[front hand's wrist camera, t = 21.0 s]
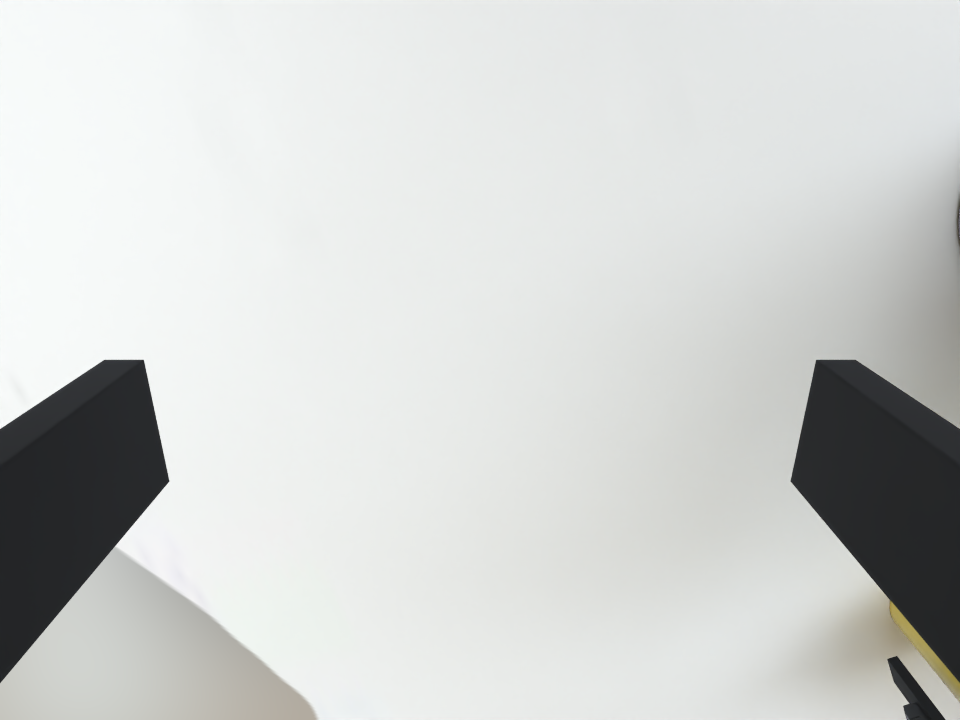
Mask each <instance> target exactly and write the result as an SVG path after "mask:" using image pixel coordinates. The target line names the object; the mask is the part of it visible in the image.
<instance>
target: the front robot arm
mask: <svg viewBox="0 0 960 720" xmlns="http://www.w3.org/2000/svg"><path fill="white" fill-rule="evenodd" d="M958 225H959V238H960V209H959V221H958ZM168 482H169V478H168V473H167V468H166V463H165V459H164V454H163V449H162V444H161V440H160V435H159V430H158V425H157V421H156V416H155V411H154V406H153V402H152V397H151V392H150V387H149V383H148V378H147V373H146V368H145V364H144V360H104V361H102V362H101V363H99V364H98V365H96V366H95V367H93V368H92V369H90V370H89V371H87V372H86V373H84V374H83V375H81V376H80V377H78V378H77V379H75V380H73V381H72V382H70V383H69V384H67V385H66V386H64V387H63V388H61V389H60V390H58V391H57V392H55V393H54V394H52V395H51V396H49V397H48V398H46V399H45V400H43V401H42V402H40V403H39V404H37V405H36V406H34V407H33V408H31V409H30V410H28V411H27V412H25V413H24V414H22V415H21V416H19V417H18V418H16V419H15V420H13V421H12V422H10V423H9V424H7V425H6V426H4V427H3V428H1V429H0V683H1V681H2V680H3V679H4V678H5V677H6V675H7V674H8V673H9V672H10V671H11V670H12V668H13V667H14V666H15V665H16V664H17V662H18V661H19V660H20V659H21V658H22V656H23V655H24V654H25V653H26V652H27V650H28V649H29V648H30V647H31V646H32V644H33V643H34V642H35V641H36V640H37V638H38V637H39V636H40V635H41V634H42V633H43V631H44V630H45V629H46V628H47V627H48V625H49V624H50V623H51V622H52V621H53V619H54V618H55V617H56V616H57V615H58V613H59V612H60V611H61V610H62V609H63V607H64V606H65V605H66V604H67V603H68V602H69V600H70V599H71V598H72V597H73V596H74V594H75V593H76V592H77V591H78V590H79V588H80V587H81V586H82V585H83V584H84V582H85V581H86V580H87V579H88V578H89V577H90V575H91V574H92V573H93V572H94V571H95V569H96V568H97V567H98V566H99V565H100V563H101V562H102V561H103V560H104V559H105V557H106V556H107V555H108V554H109V553H110V551H111V550H112V549H113V548H114V547H115V546H116V544H117V543H118V542H119V541H120V540H121V538H122V537H123V536H124V535H125V534H126V532H127V531H128V530H129V529H130V528H131V526H132V525H133V524H134V523H135V522H136V520H137V519H138V518H139V517H140V516H141V514H142V513H143V512H144V511H145V510H146V509H147V507H148V506H149V505H150V504H151V503H152V501H153V500H154V499H155V498H156V497H157V495H158V494H159V493H160V492H161V491H162V489H163V488H164V487H165V486H166V485H167V483H168ZM791 482H792V483H793V485H794V486H795V487H796V488H797V489H798V491H799V492H800V493H801V494H802V495H803V497H804V498H805V499H806V500H807V501H808V503H809V504H810V505H811V506H812V507H813V509H814V510H815V511H816V512H817V513H818V514H819V516H820V517H821V518H822V519H823V520H824V522H825V523H826V524H827V525H828V526H829V528H830V529H831V530H832V531H833V532H834V534H835V535H836V536H837V537H838V538H839V540H840V541H841V542H842V543H843V544H844V546H845V547H846V548H847V549H848V550H849V551H850V553H851V554H852V555H853V556H854V557H855V559H856V560H857V561H858V562H859V563H860V565H861V566H862V567H863V568H864V569H865V571H866V572H867V573H868V574H869V575H870V577H871V578H872V579H873V580H874V581H875V582H876V584H877V585H878V586H879V587H880V588H881V590H882V591H883V592H884V593H885V594H886V596H887V597H888V598H889V599H890V600H891V602H892V603H893V604H894V605H895V606H896V608H897V609H898V610H899V611H900V612H901V614H902V615H903V616H904V617H905V618H906V619H907V621H908V622H909V623H910V624H911V625H912V627H913V628H914V629H915V630H916V631H917V633H918V634H919V635H920V636H921V637H922V639H923V640H924V641H925V642H926V643H927V645H928V646H929V647H930V648H931V649H932V650H933V652H934V653H935V654H936V655H937V656H938V658H939V659H940V660H941V661H942V662H943V664H944V665H945V666H946V667H947V668H948V670H949V671H950V672H951V673H952V674H953V676H954V677H955V678H956V679H957V680H958V681H959V683H960V429H959V428H957V427H956V426H954V425H953V424H951V423H950V422H948V421H947V420H945V419H944V418H942V417H941V416H939V415H938V414H936V413H935V412H933V411H932V410H930V409H929V408H927V407H926V406H924V405H923V404H921V403H920V402H918V401H917V400H915V399H914V398H912V397H911V396H909V395H908V394H906V393H905V392H903V391H902V390H900V389H899V388H897V387H896V386H894V385H893V384H891V383H890V382H888V381H887V380H885V379H883V378H882V377H880V376H879V375H877V374H876V373H874V372H873V371H871V370H870V369H868V368H867V367H865V366H864V365H862V364H861V363H859V362H858V361H856V360H816V364H815V368H814V373H813V378H812V383H811V387H810V392H809V397H808V402H807V406H806V411H805V416H804V421H803V425H802V430H801V435H800V440H799V444H798V449H797V454H796V459H795V463H794V468H793V473H792V478H791Z"/></svg>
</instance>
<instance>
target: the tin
mask: <svg viewBox="0 0 960 720" xmlns="http://www.w3.org/2000/svg"><path fill="white" fill-rule="evenodd" d="M890 613H891V616H892V619H893V620H894V622H895V623H896V624H897V626H898V627H899V628H900V629H901V631H902V632H903V633H904V634H905V636H906V637H907V638H908V639H909V641H910V642H911V643H912V644H913V645H914V647H915V648H916V649H917V650H918V652H919V653H920V654H921V655H922V657H923V658H924V659H925V660H926V661H927V663H928V664H929V665H930V666H931V668H932V669H933V670H934V671H935V673H936V674H937V675H938V676H939V678H940V679H941V680H942V681H943V682H944V684H945V685H946V686H947V687H948V689H949V690H950V691H951V692H952V694H953V695H954V696H955V697H956V698H957V700H958V701H959V702H960V683H959V681H958V680H957V679H956V678H955V677H954V676H953V674H952V673H951V672H950V671H949V670H948V668H947V667H946V666H945V665H944V664H943V662H942V661H941V660H940V659H939V658H938V656H937V655H936V654H935V653H934V652H933V650H932V649H931V648H930V647H929V646H928V645H927V643H926V642H925V641H924V640H923V639H922V637H921V636H920V635H919V634H918V633H917V631H916V630H915V629H914V628H913V627H912V625H911V624H910V623H909V622H908V621H907V619H906V618H905V617H904V616H903V615H902V614H901V612H900V611H899V610H898V609H897V608H896V606H895V605H894V604H893V603H892V602H891V601H890Z"/></svg>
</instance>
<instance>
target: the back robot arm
mask: <svg viewBox="0 0 960 720" xmlns="http://www.w3.org/2000/svg"><path fill="white" fill-rule="evenodd" d="M888 663H889V666H890V670H891V673H892V677H893V680H894V683H895V684H896V685H897V687H898V688H899V690H900V691H901V692H902V694H903V695H904V696H905V698H906V699H907V701H908V702H909V703H910V704H908V705H904V706H903V707H904V711H905V715H906V718H907V720H945V718H944V717H943V716H942V715H941V713H940V712H939V711H938V709H937V708H936V707H935V705H934V704H933V703H932V701H931V700H930V699H929V697H928V696H927V695H926V694H925V692H924V691H923V690H922V688H921V687H920V686H919V684H918V683H917V682H916V680H915V679H914V678H913V676H912V675H911V674H910V673H909V671H908V670H907V669H906V667H905V666H904V665H903V663H902V662H901V661H900V659H899V658H898V657H897V656H896V657H892V658H889V659H888Z"/></svg>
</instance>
